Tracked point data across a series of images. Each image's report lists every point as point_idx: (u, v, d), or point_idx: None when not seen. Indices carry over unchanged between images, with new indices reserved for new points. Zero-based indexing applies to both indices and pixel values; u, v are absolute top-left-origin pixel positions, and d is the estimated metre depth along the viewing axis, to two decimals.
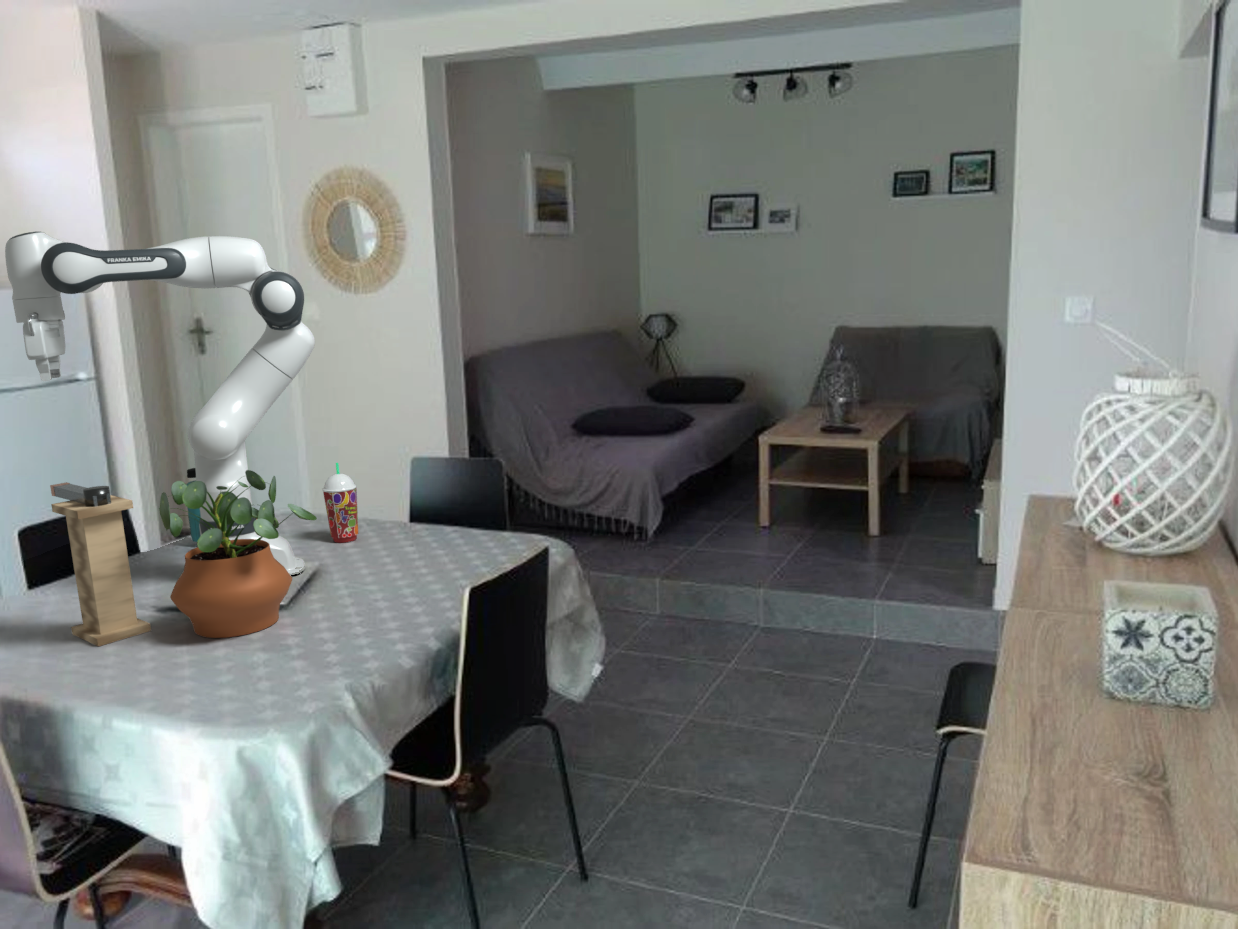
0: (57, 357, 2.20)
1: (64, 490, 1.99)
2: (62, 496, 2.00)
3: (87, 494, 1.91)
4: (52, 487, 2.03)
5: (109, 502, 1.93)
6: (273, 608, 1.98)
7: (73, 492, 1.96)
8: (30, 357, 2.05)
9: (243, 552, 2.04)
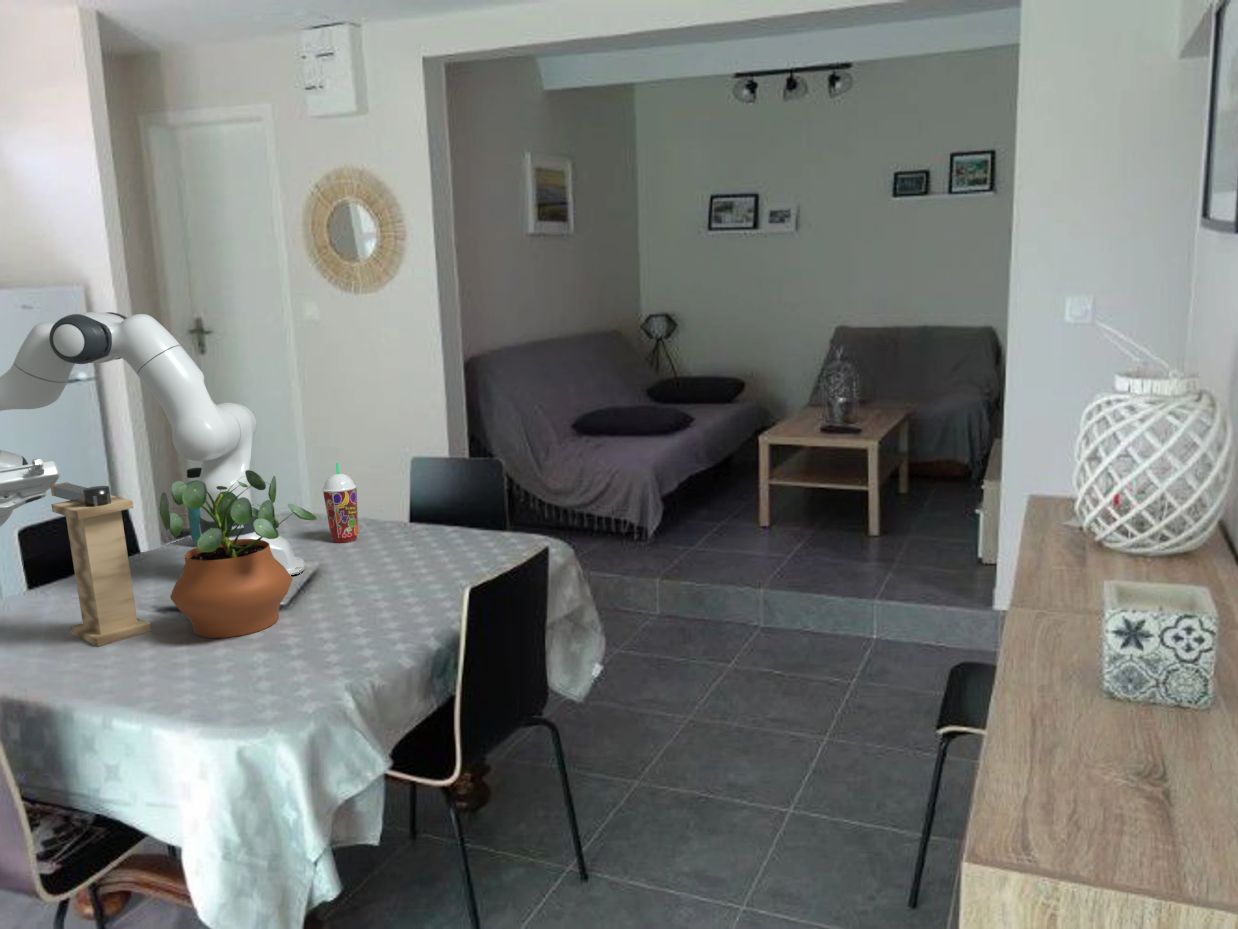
0: None
1: (64, 490, 1.99)
2: (62, 496, 2.00)
3: (87, 494, 1.91)
4: (52, 487, 2.03)
5: (109, 502, 1.93)
6: (273, 608, 1.98)
7: (73, 492, 1.96)
8: None
9: (243, 552, 2.04)
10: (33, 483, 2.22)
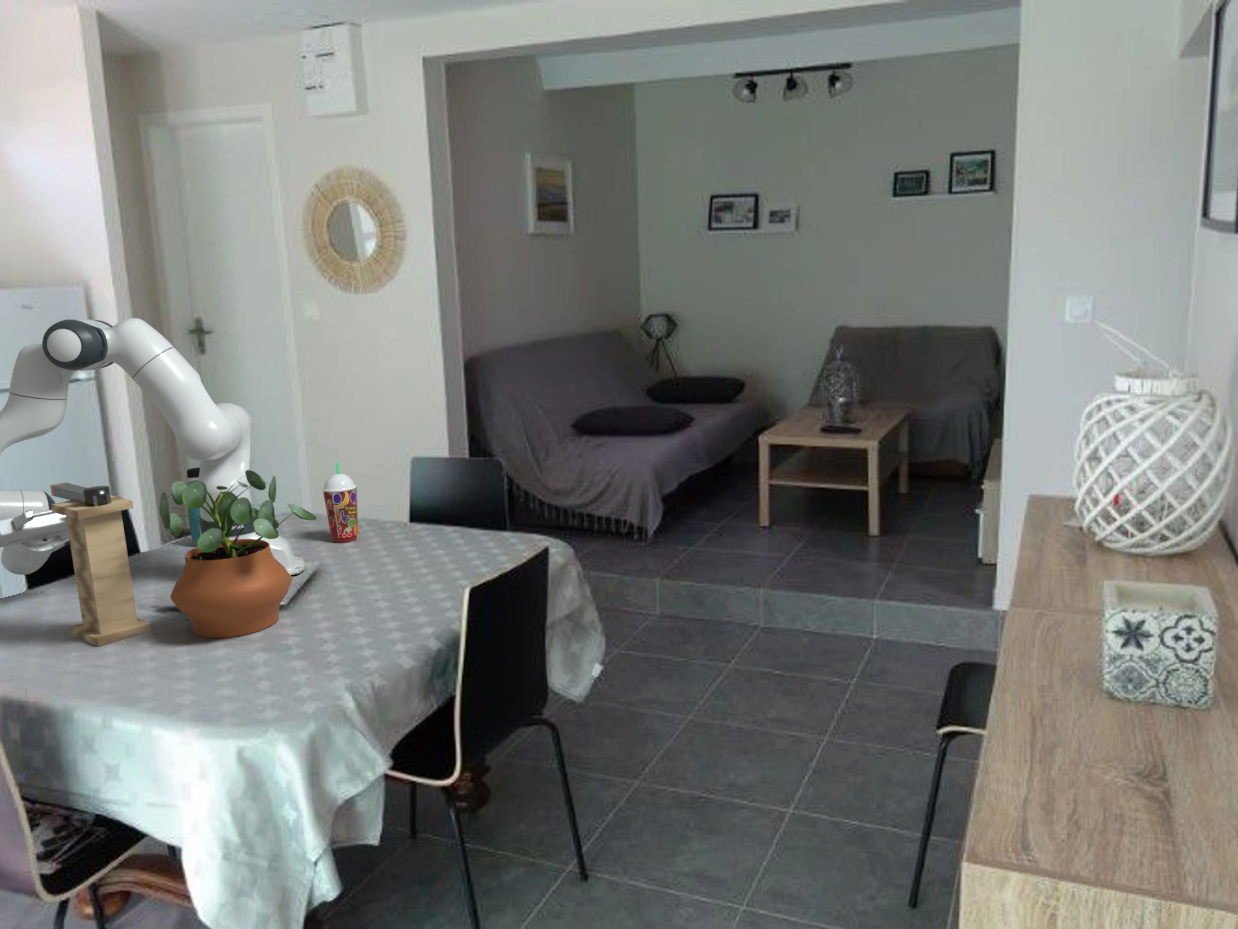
0: None
1: (64, 490, 1.99)
2: (62, 496, 2.00)
3: (87, 494, 1.91)
4: (52, 487, 2.03)
5: (109, 502, 1.93)
6: (273, 608, 1.98)
7: (73, 492, 1.96)
8: None
9: (243, 552, 2.04)
10: None
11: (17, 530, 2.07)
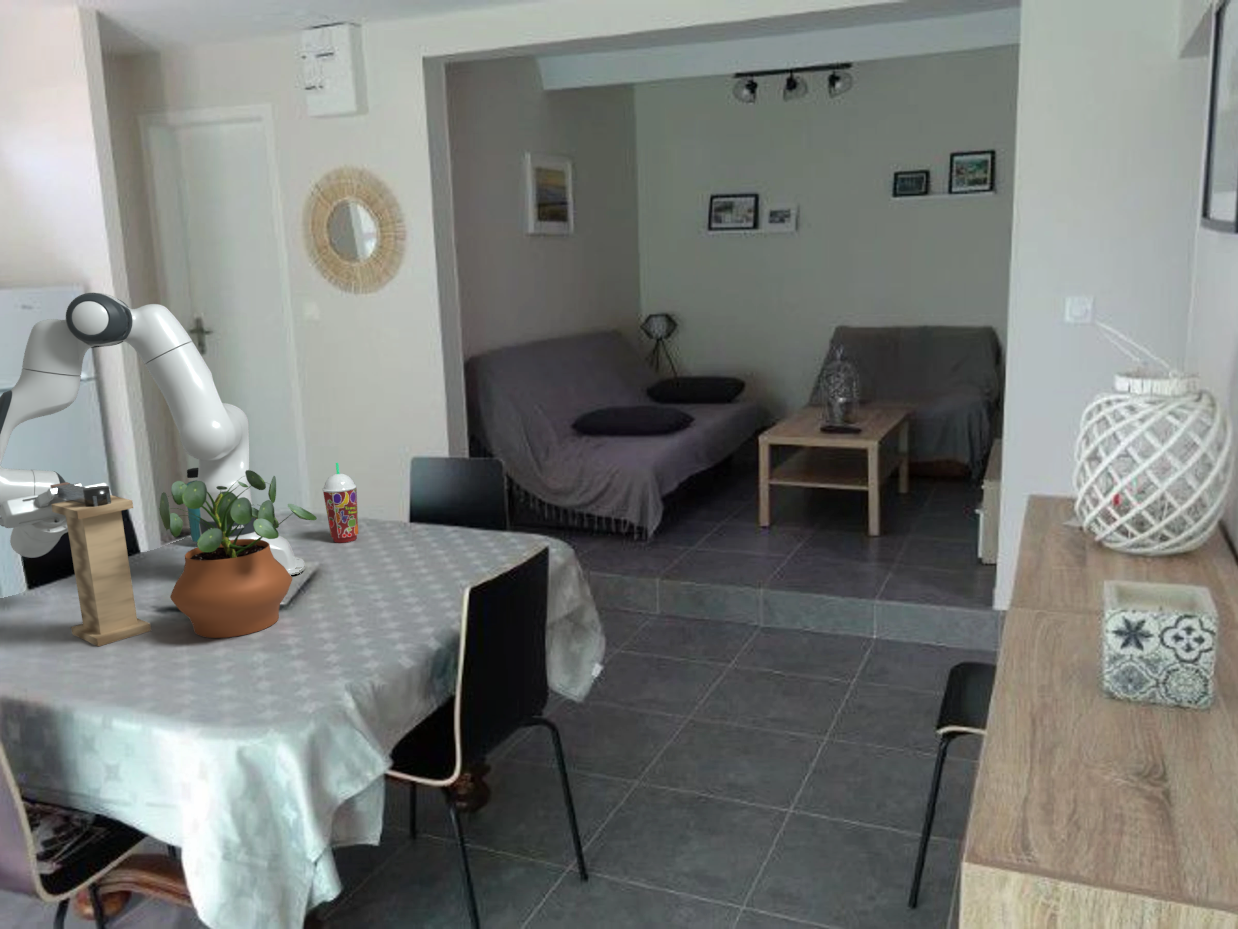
0: None
1: (64, 490, 1.99)
2: (62, 496, 2.00)
3: (87, 494, 1.91)
4: (52, 487, 2.03)
5: (109, 502, 1.93)
6: (273, 608, 1.98)
7: (73, 492, 1.96)
8: (8, 514, 1.98)
9: (243, 552, 2.04)
10: None
11: (28, 510, 2.00)
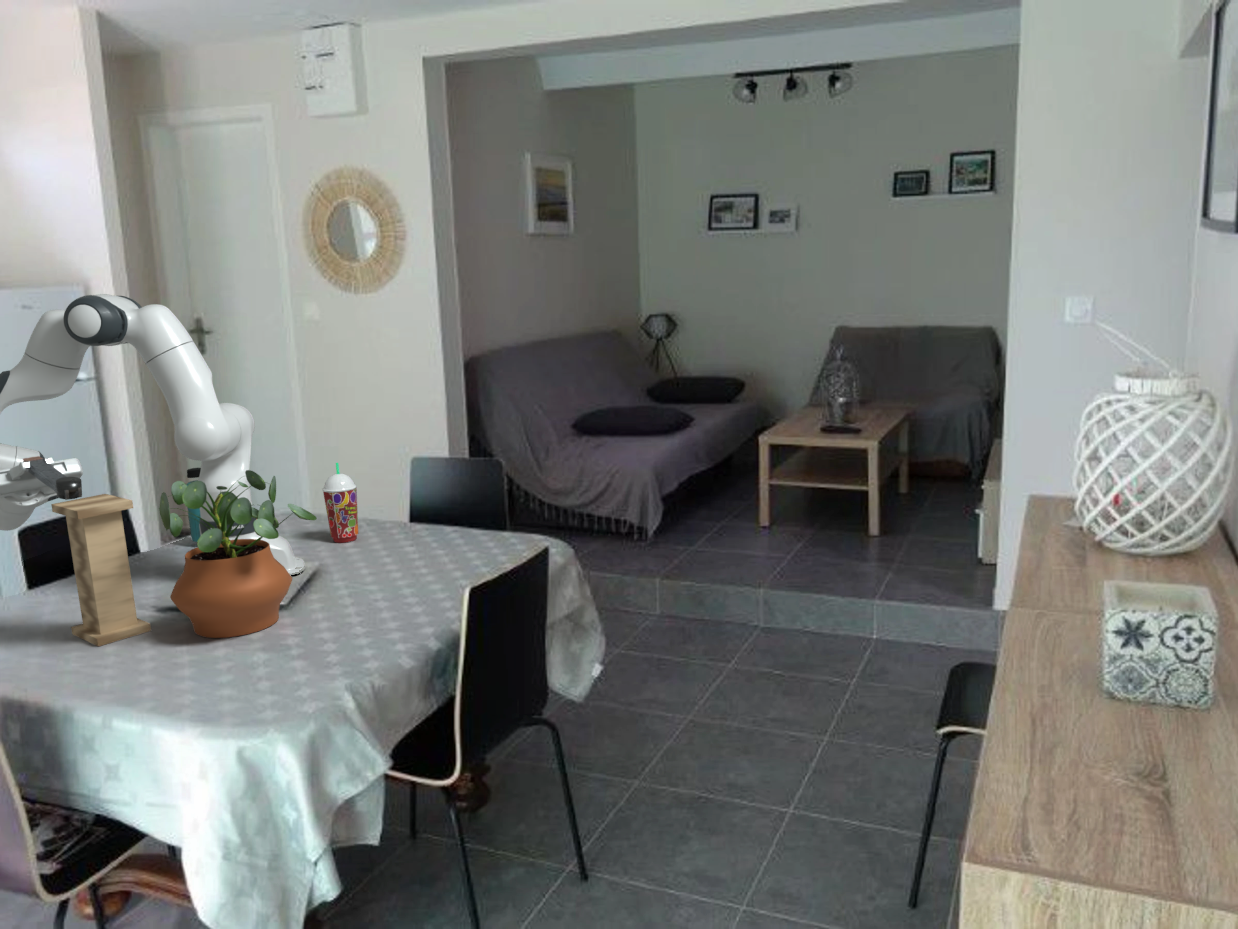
0: None
1: (36, 470, 2.06)
2: (34, 475, 2.08)
3: (59, 487, 1.99)
4: None
5: (80, 495, 2.01)
6: (273, 608, 1.98)
7: (45, 476, 2.04)
8: None
9: (243, 552, 2.04)
10: None
11: (0, 483, 2.08)
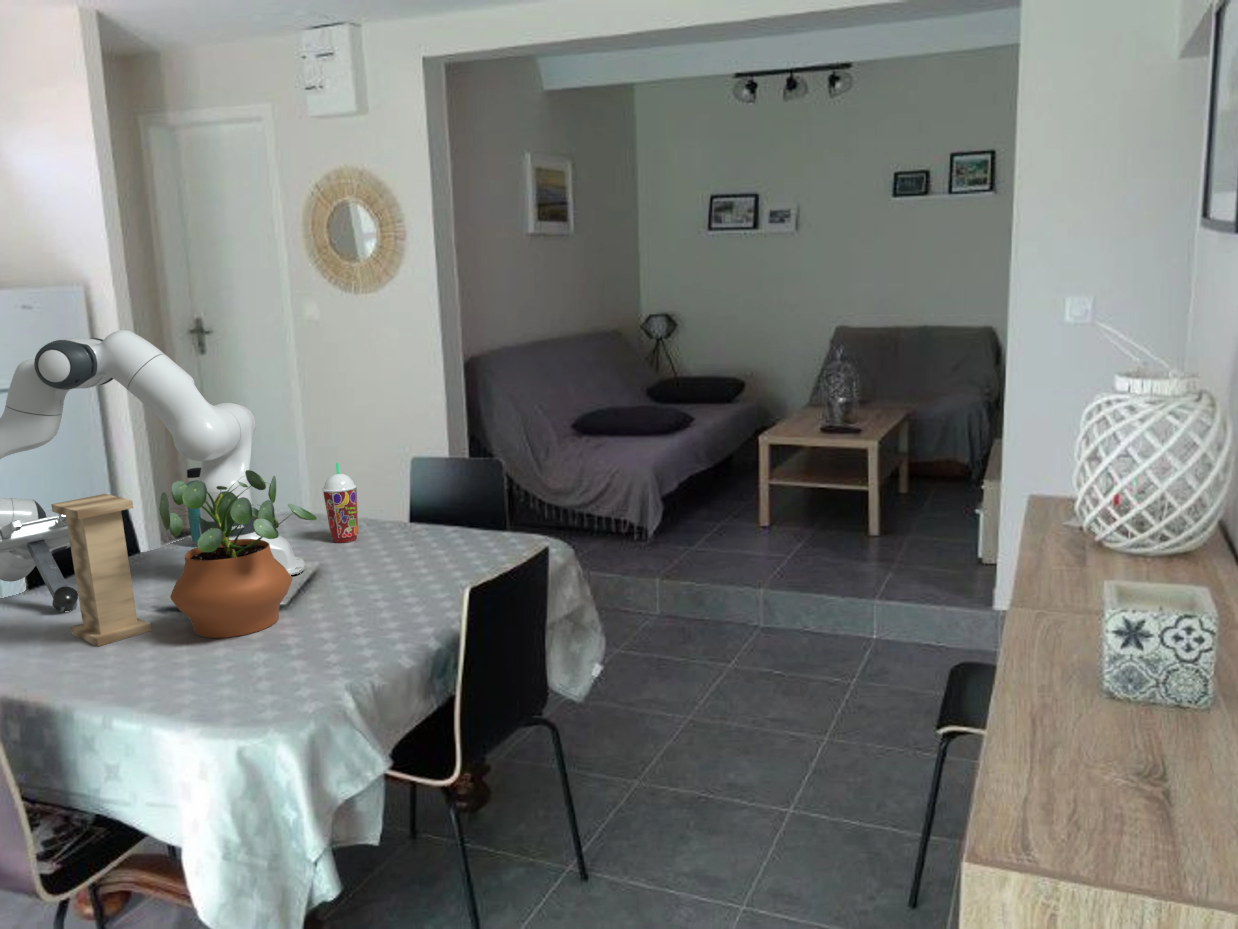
0: None
1: (36, 559, 2.17)
2: (33, 559, 2.19)
3: (57, 602, 2.12)
4: None
5: (74, 608, 2.15)
6: (273, 608, 1.98)
7: (44, 575, 2.16)
8: None
9: (243, 552, 2.04)
10: (59, 534, 2.22)
11: (5, 539, 2.12)
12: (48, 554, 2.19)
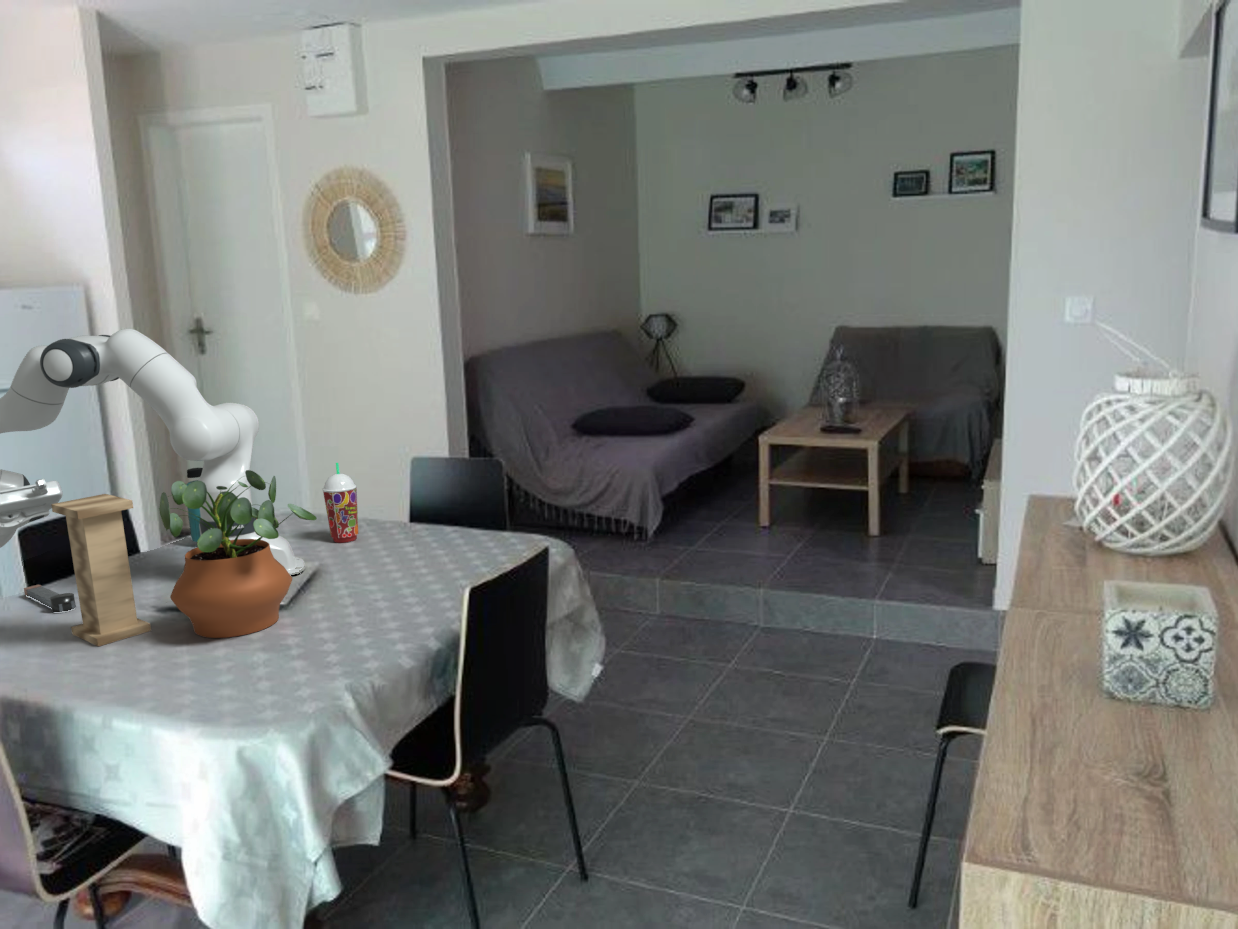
0: None
1: (35, 594, 2.22)
2: None
3: (54, 602, 2.14)
4: (25, 590, 2.26)
5: None
6: (273, 608, 1.98)
7: (42, 598, 2.20)
8: None
9: (243, 552, 2.04)
10: (36, 503, 2.28)
11: None
12: (46, 590, 2.24)
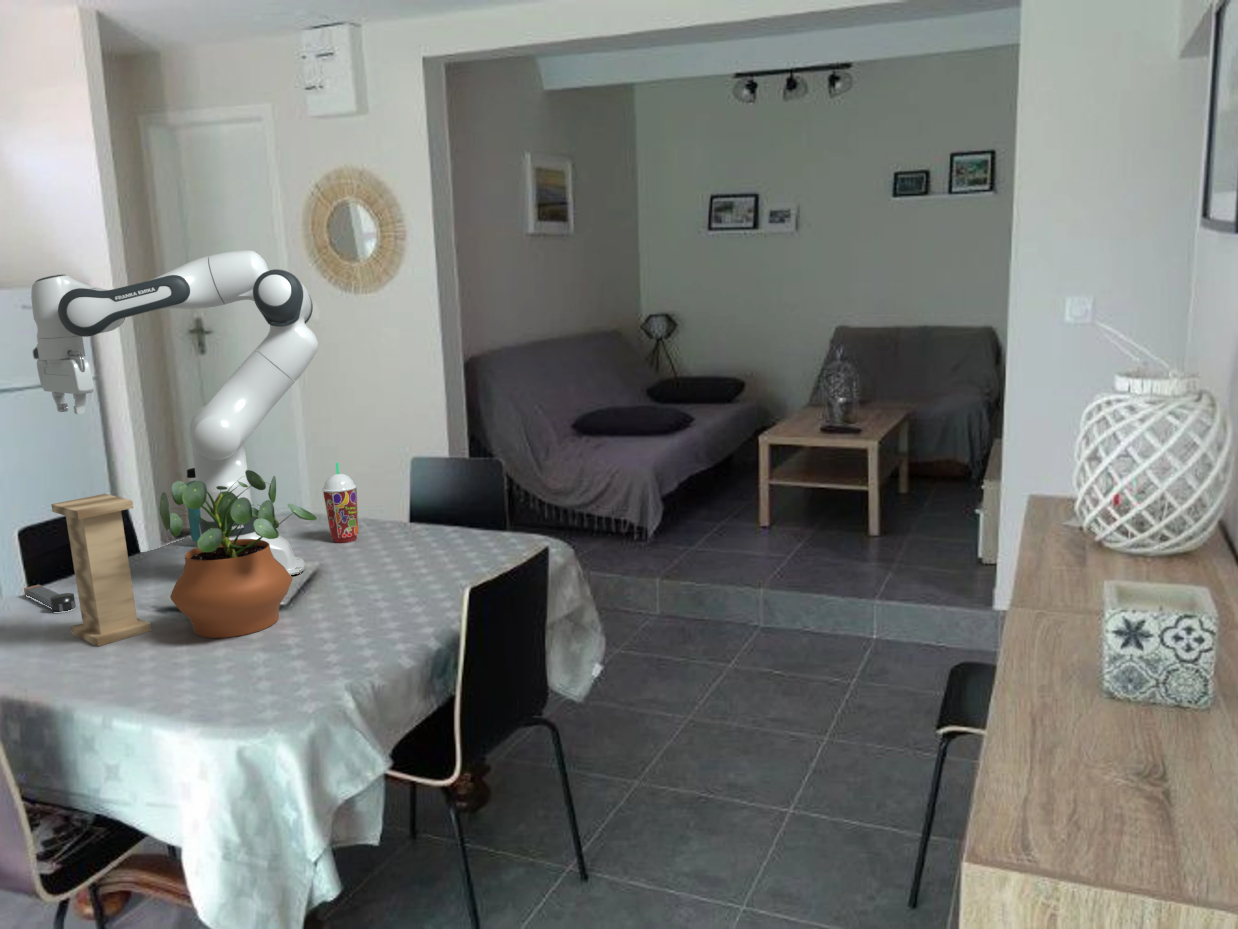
0: (63, 392, 2.32)
1: (35, 594, 2.22)
2: None
3: (54, 602, 2.14)
4: (25, 590, 2.26)
5: None
6: (273, 608, 1.98)
7: (42, 598, 2.20)
8: (80, 392, 2.21)
9: (243, 552, 2.04)
10: (49, 379, 2.29)
11: None
12: (46, 590, 2.24)
